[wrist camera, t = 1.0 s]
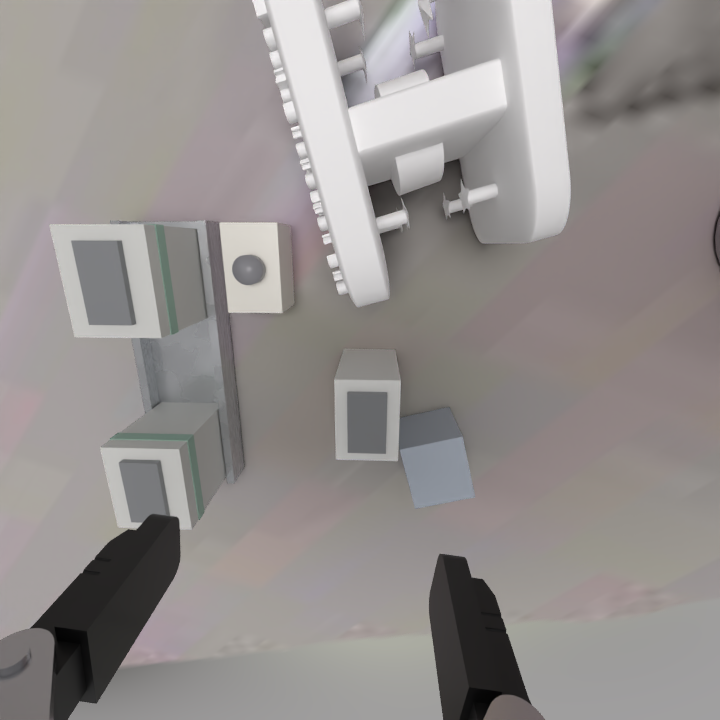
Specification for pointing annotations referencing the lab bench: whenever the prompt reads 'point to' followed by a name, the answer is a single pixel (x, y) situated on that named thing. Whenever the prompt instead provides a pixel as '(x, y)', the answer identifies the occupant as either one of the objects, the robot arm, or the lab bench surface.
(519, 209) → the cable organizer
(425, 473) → the block
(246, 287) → the sensor block
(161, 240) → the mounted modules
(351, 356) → the block
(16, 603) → the lab bench surface
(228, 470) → the rail
